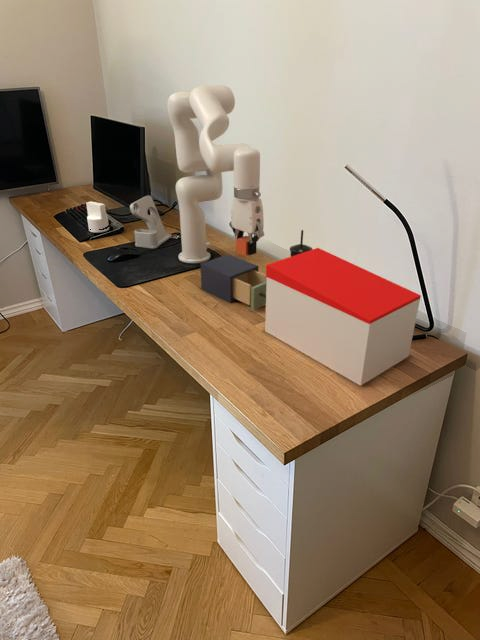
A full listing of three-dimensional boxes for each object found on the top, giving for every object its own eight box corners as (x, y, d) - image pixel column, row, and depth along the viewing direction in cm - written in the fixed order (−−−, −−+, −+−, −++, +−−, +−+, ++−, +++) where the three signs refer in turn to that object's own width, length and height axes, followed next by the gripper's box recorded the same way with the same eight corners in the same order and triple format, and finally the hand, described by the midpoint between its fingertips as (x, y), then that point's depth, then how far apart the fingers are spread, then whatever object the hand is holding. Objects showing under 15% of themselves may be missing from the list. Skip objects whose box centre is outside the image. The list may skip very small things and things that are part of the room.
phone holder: (154, 249, 202) (150, 206, 193) (133, 246, 204) (128, 203, 196) (172, 235, 216) (169, 195, 207) (152, 233, 219) (148, 193, 210)
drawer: (291, 304, 156) (292, 283, 152) (266, 316, 149) (267, 294, 145) (249, 285, 168) (249, 265, 164) (224, 296, 161) (224, 275, 157)
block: (236, 252, 152) (236, 238, 149) (246, 248, 154) (246, 235, 152) (245, 256, 149) (245, 242, 147) (256, 252, 151) (256, 239, 149)
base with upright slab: (113, 228, 225) (109, 202, 219) (99, 233, 218) (95, 207, 212) (99, 225, 229) (95, 199, 223) (84, 230, 222) (80, 204, 216)
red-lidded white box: (312, 309, 154) (317, 247, 144) (408, 356, 131) (422, 285, 121) (263, 330, 143) (265, 264, 133) (360, 386, 119) (371, 310, 109)
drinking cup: (295, 291, 166) (299, 235, 156) (283, 283, 172) (286, 228, 162) (314, 287, 169) (318, 232, 159) (301, 279, 175) (305, 225, 165)
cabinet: (258, 291, 166) (258, 265, 162) (230, 302, 159) (230, 276, 154) (228, 278, 176) (228, 254, 171) (201, 288, 168) (200, 263, 164)
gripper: (276, 196, 140) (274, 256, 148) (236, 185, 150) (236, 242, 159) (258, 201, 135) (256, 262, 144) (218, 190, 146) (219, 247, 155)
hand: (246, 251), depth 151 cm, fingers closed on block, 4 cm apart
